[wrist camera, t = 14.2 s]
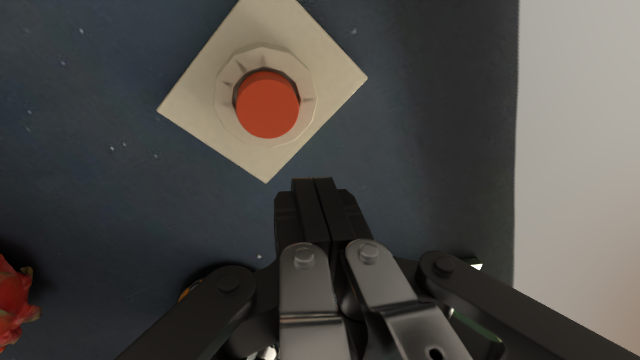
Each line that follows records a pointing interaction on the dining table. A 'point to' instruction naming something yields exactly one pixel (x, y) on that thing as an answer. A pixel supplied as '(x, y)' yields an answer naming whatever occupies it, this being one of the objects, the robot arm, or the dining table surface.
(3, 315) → the dragon fruit
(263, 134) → the button
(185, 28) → the dining table surface
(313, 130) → the button base
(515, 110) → the dining table surface
